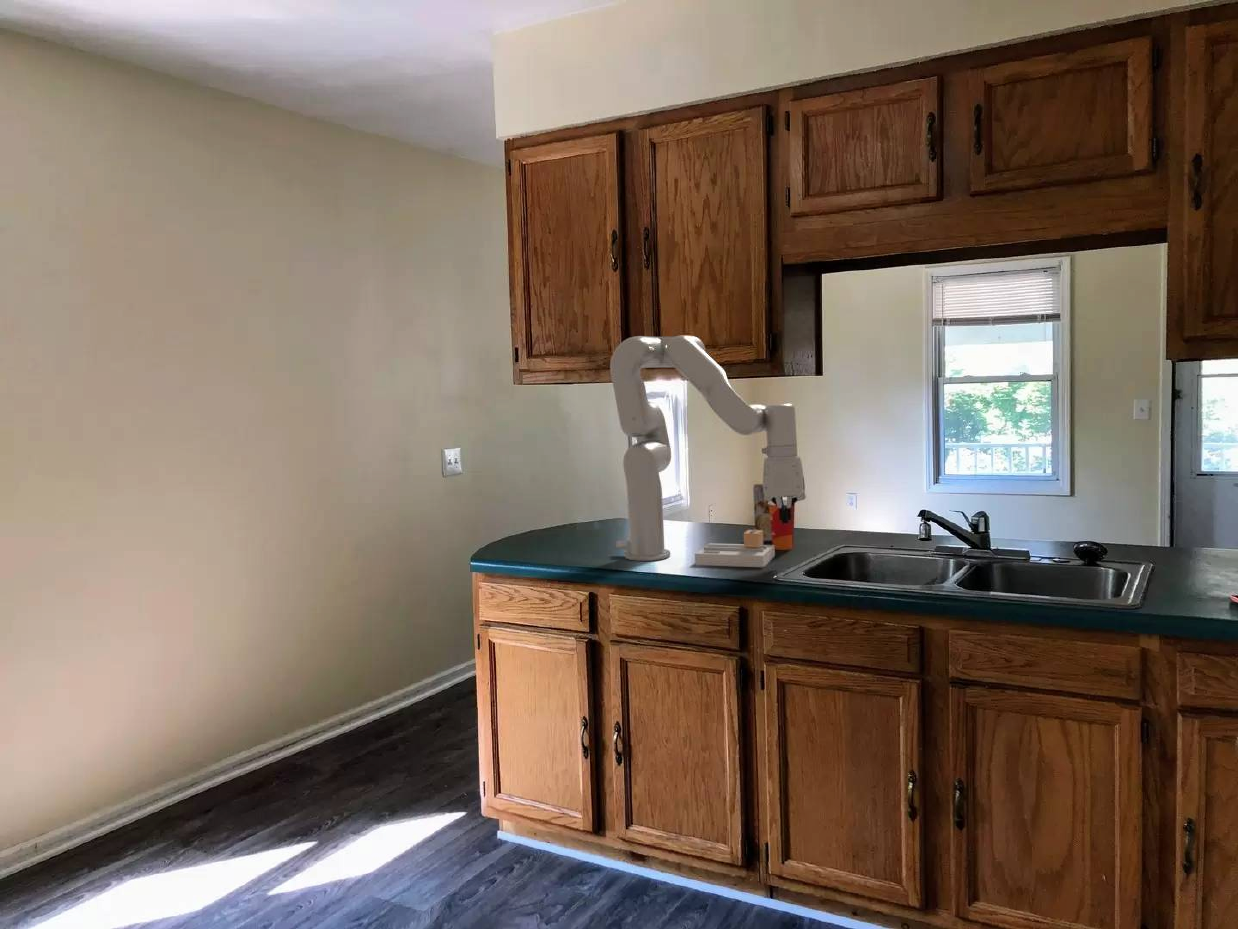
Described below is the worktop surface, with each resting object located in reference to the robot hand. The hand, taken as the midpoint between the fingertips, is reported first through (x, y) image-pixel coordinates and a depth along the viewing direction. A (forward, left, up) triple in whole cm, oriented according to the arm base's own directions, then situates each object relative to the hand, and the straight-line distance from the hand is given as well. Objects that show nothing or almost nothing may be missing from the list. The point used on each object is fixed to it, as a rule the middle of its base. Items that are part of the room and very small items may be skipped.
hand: (786, 522), depth 239 cm
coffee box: (-11, +31, -11) cm, 34 cm away
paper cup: (-5, +18, -11) cm, 21 cm away
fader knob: (-9, 0, -7) cm, 11 cm away
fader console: (-14, 0, -10) cm, 17 cm away
